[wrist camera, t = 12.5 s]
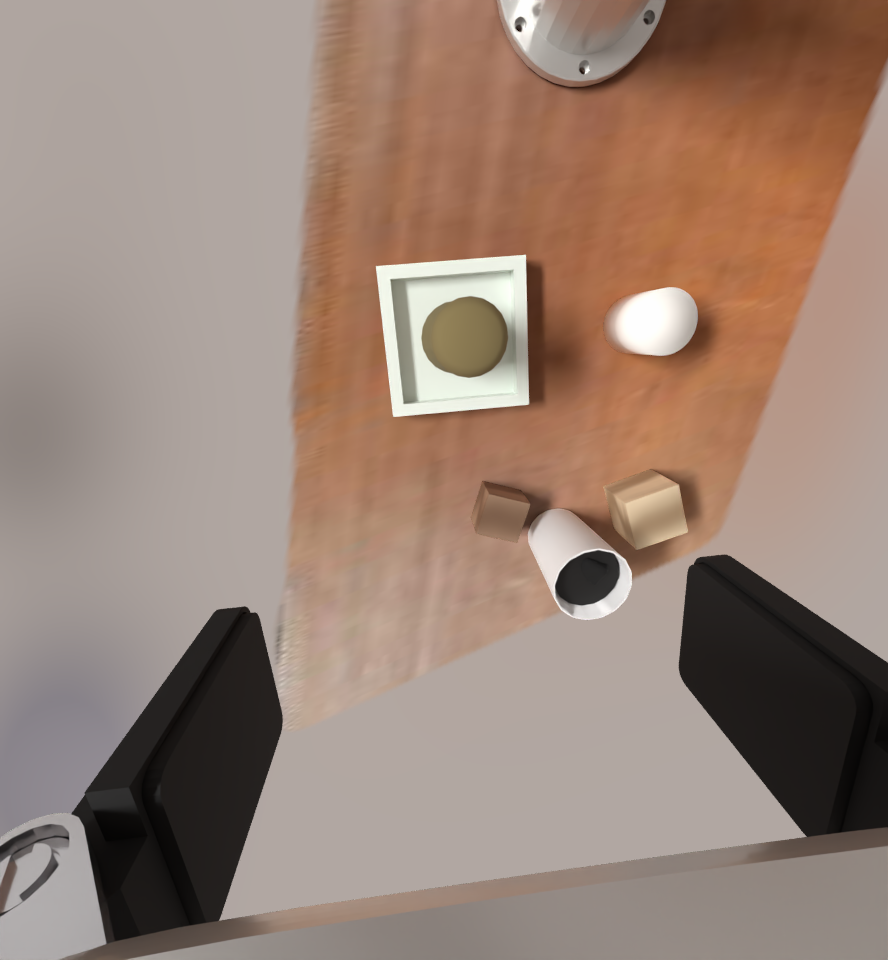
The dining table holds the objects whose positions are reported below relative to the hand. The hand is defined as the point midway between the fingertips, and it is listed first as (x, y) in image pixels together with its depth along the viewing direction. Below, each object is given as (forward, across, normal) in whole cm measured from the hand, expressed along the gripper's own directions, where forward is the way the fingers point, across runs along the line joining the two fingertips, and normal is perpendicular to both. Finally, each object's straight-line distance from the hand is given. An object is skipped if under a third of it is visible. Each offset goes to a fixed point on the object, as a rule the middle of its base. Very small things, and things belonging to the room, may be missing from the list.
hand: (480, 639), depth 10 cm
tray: (+33, -3, -6) cm, 34 cm away
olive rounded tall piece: (+33, -3, -6) cm, 33 cm away
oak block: (+34, -20, +11) cm, 41 cm away
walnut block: (+34, -6, +10) cm, 35 cm away
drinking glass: (+34, -12, +14) cm, 38 cm away
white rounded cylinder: (+33, -19, -6) cm, 39 cm away
